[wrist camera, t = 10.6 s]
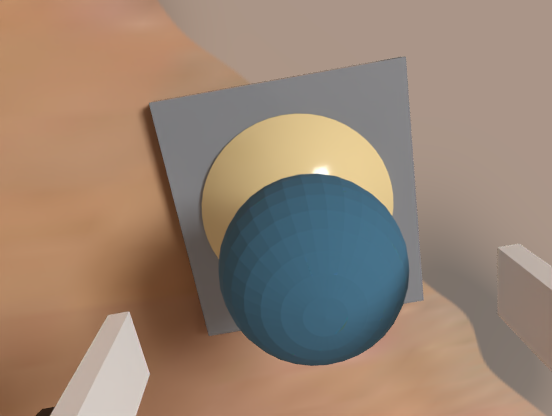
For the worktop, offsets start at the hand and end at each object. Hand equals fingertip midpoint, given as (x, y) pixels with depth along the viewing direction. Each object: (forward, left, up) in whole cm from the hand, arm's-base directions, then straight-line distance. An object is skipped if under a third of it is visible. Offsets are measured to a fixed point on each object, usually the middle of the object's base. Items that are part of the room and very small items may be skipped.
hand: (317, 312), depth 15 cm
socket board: (0, 0, -14) cm, 14 cm away
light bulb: (0, 0, -12) cm, 12 cm away
